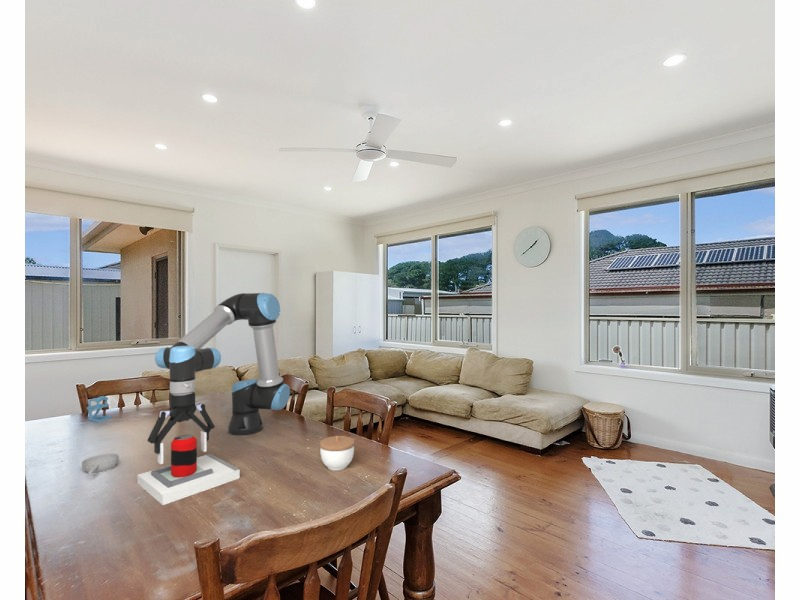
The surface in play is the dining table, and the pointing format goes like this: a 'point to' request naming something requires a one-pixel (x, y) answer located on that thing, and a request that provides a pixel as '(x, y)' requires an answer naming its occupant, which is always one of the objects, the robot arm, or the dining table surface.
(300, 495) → the dining table surface
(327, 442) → the lidded bowl
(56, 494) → the dining table surface
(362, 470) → the dining table surface
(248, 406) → the robot arm
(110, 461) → the saucepan
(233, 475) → the dock
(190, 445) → the soda can
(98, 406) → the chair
